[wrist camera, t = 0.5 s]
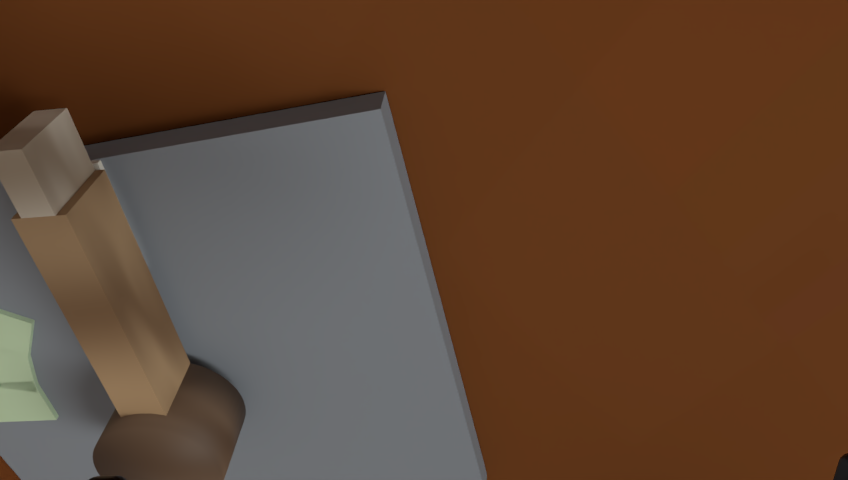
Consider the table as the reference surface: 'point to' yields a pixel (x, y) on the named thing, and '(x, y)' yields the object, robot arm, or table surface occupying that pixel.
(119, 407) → the peg lever
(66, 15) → the table surface
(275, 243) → the board
